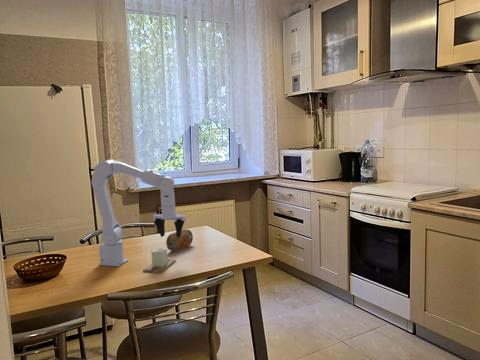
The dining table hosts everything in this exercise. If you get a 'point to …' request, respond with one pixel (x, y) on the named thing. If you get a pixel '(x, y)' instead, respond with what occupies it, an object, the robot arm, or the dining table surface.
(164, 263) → the block
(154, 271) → the board
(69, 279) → the dining table surface
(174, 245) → the tin
